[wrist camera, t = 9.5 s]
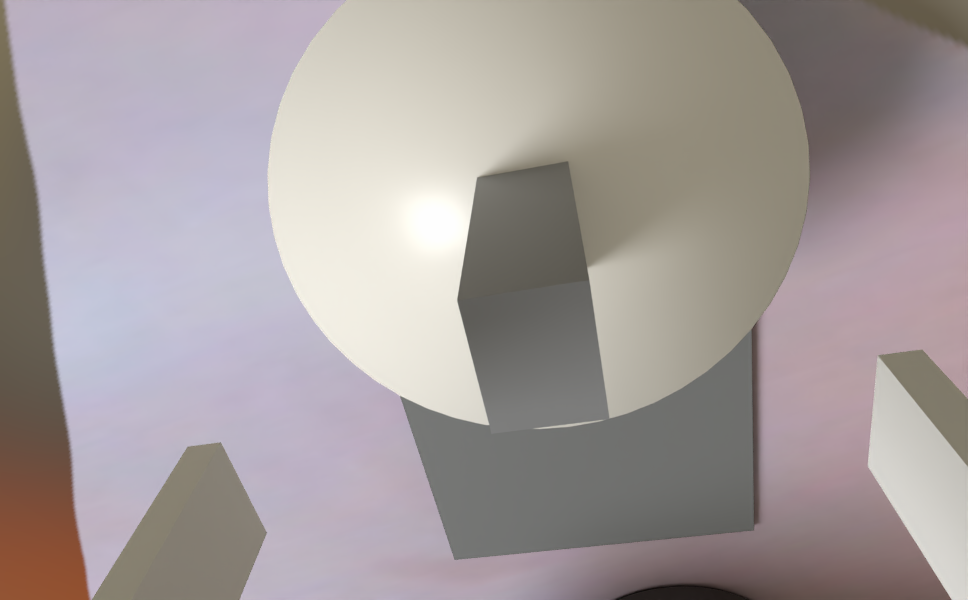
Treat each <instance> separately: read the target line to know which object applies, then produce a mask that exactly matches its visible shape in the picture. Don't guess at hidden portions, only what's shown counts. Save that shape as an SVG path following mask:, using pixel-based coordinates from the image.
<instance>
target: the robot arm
mask: <svg viewBox="0 0 968 600" xmlns="http://www.w3.org/2000/svg"><path fill="white" fill-rule="evenodd" d="M868 467H869V469H870V470H871V472H872V474H873V475H874V477H875V478H876V480H877V482H878V483H879V485H880V486H881V488H882V490H883V491H884V493H885V494H886V496H887V497H888V499H889V501H890V502H891V504H892V505H893V507H894V509H895V510H896V512H897V513H898V515H899V517H900V518H901V520H902V521H903V523H904V525H905V526H906V528H907V529H908V531H909V532H910V534H911V536H912V537H913V539H914V540H915V542H916V544H917V545H918V547H919V548H920V550H921V552H922V553H923V555H924V556H925V558H926V560H927V561H928V563H929V564H930V566H931V567H932V569H933V571H934V572H935V574H936V575H937V577H938V579H939V580H940V582H941V583H942V585H943V587H944V588H945V590H946V591H947V593H948V595H949V596H950V598H951V599H952V600H968V399H967V398H966V397H965V396H964V394H963V393H962V392H961V391H960V390H959V389H958V388H957V387H956V386H955V385H954V384H953V383H952V381H951V380H950V379H949V378H948V377H947V376H946V375H945V374H944V373H943V372H942V371H941V370H940V368H939V367H938V366H937V365H936V364H935V363H934V362H933V361H932V360H931V359H930V358H929V357H928V355H927V354H926V353H925V352H924V351H923V350H915V351H908V352H900V353H893V354H885V355H878V359H877V370H876V381H875V392H874V403H873V414H872V425H871V436H870V447H869V458H868ZM265 536H266V531H265V529H264V527H263V525H262V523H261V521H260V519H259V517H258V515H257V513H256V511H255V509H254V507H253V505H252V503H251V501H250V499H249V497H248V495H247V493H246V491H245V489H244V487H243V485H242V483H241V481H240V479H239V477H238V475H237V473H236V471H235V469H234V467H233V465H232V463H231V462H230V460H229V458H228V456H227V454H226V452H225V450H224V448H223V446H222V444H221V443H213V444H206V445H198V446H190V447H187V449H186V450H185V452H184V453H183V455H182V457H181V458H180V460H179V461H178V463H177V465H176V466H175V468H174V469H173V471H172V473H171V474H170V476H169V477H168V479H167V481H166V482H165V484H164V485H163V487H162V489H161V490H160V492H159V493H158V495H157V497H156V498H155V500H154V501H153V503H152V505H151V506H150V508H149V509H148V511H147V513H146V514H145V516H144V517H143V519H142V521H141V522H140V524H139V525H138V527H137V529H136V530H135V532H134V533H133V535H132V536H131V538H130V540H129V541H128V543H127V544H126V546H125V548H124V549H123V551H122V552H121V554H120V556H119V557H118V559H117V560H116V562H115V564H114V565H113V567H112V568H111V570H110V572H109V573H108V575H107V576H106V578H105V580H104V581H103V583H102V584H101V586H100V588H99V589H98V591H97V592H96V594H95V596H94V597H93V599H92V600H239V599H240V597H241V594H242V592H243V589H244V587H245V585H246V582H247V580H248V577H249V575H250V572H251V570H252V568H253V565H254V563H255V560H256V558H257V555H258V553H259V550H260V548H261V546H262V543H263V541H264V538H265ZM618 600H748V599H745V598H743V597H741V596H738V595H735V594H732V593H729V592H725V591H721V590H716V589H710V588H702V587H667V588H658V589H652V590H647V591H643V592H639V593H635V594H632V595H629V596H626V597H623V598H621V599H618Z"/></svg>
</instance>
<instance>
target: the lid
mask: <svg viewBox="0 0 968 600" xmlns="http://www.w3.org/2000/svg"><path fill="white" fill-rule="evenodd" d="M809 182H810V168H809V144H808V138H807V133H806V128H805V123H804V118H803V112H802V108H801V105H800V102H799V99H798V97H797V94H796V91H795V88H794V85H793V83H792V80H791V77H790V74H789V72H788V70H787V69H786V67H785V65H784V63H783V61H782V59H781V58H780V56H779V54H778V52H777V50H776V48H775V46H774V45H773V43H772V41H771V40H770V38H769V37H768V36H767V34H766V33H765V32H764V30H763V29H762V28H761V27H760V25H759V24H758V23H757V21H756V20H755V19H754V17H753V16H752V15H751V14H750V12H749V11H748V10H747V9H746V8H745V7H744V6H743V5H742V4H741V3H740V2H739V1H738V0H347V1H346V2H345V3H343V4H342V5H341V6H340V7H339V8H338V9H337V10H336V11H335V12H334V14H333V15H332V16H331V17H330V18H329V20H328V21H327V22H326V23H325V25H324V26H323V27H322V28H321V30H320V31H319V32H318V33H317V35H316V36H315V37H314V38H313V39H312V41H311V43H310V44H309V46H308V48H307V49H306V51H305V53H304V54H303V56H302V58H301V60H300V61H299V63H298V65H297V66H296V68H295V70H294V71H293V73H292V76H291V78H290V81H289V83H288V86H287V88H286V91H285V93H284V95H283V98H282V100H281V103H280V105H279V109H278V113H277V117H276V121H275V125H274V129H273V133H272V137H271V144H270V154H269V164H268V197H269V209H270V215H271V221H272V226H273V232H274V237H275V240H276V244H277V247H278V250H279V253H280V256H281V259H282V262H283V266H284V268H285V270H286V272H287V274H288V277H289V279H290V281H291V283H292V285H293V287H294V289H295V292H296V294H297V295H298V297H299V299H300V300H301V302H302V303H303V305H304V307H305V308H306V310H307V311H308V313H309V314H310V316H311V318H312V319H313V321H314V322H315V323H316V324H317V325H318V327H319V328H320V329H321V330H322V332H323V333H324V334H325V335H326V336H327V338H328V339H329V340H330V341H331V343H332V344H333V345H334V346H335V347H336V348H338V349H339V350H340V351H341V352H342V353H343V354H344V355H345V356H346V357H347V358H348V359H349V360H350V361H351V362H352V363H353V364H354V365H356V366H357V367H358V368H360V369H361V370H362V371H363V372H365V373H366V374H367V375H369V376H370V377H371V378H373V379H374V380H375V381H377V382H378V383H380V384H382V385H383V386H385V387H387V388H388V389H390V390H391V391H393V392H395V393H396V394H398V395H400V396H402V397H404V398H406V399H408V400H410V401H412V402H414V403H416V404H419V405H421V406H423V407H425V408H427V409H430V410H433V411H436V412H439V413H442V414H445V415H447V416H450V417H453V418H457V419H461V420H466V421H470V422H474V423H478V424H483V425H489V426H490V430H491V434H494V433H502V432H510V431H518V430H526V429H546V428H560V427H571V426H577V425H583V424H588V423H594V422H599V421H603V420H606V419H610V418H613V417H617V416H620V415H624V414H627V413H630V412H632V411H635V410H637V409H640V408H642V407H645V406H647V405H650V404H652V403H655V402H657V401H659V400H661V399H663V398H664V397H666V396H668V395H670V394H672V393H674V392H676V391H678V390H680V389H682V388H683V387H684V386H686V385H687V384H689V383H690V382H692V381H693V380H695V379H696V378H698V377H699V376H701V375H702V374H704V373H705V372H707V371H708V370H709V369H710V368H712V367H713V366H714V365H715V364H716V363H717V362H719V361H720V360H721V359H722V358H723V357H725V356H726V355H727V354H728V353H729V352H730V351H731V350H732V349H733V348H734V347H735V346H736V345H737V344H738V343H739V342H740V341H741V340H742V339H743V337H744V336H745V335H746V334H747V333H748V332H749V331H750V330H751V329H752V328H753V326H754V325H755V324H756V322H757V321H758V319H759V318H760V317H761V315H762V314H763V313H764V311H765V310H766V309H767V307H768V306H769V305H770V303H771V301H772V300H773V298H774V296H775V294H776V292H777V291H778V289H779V287H780V285H781V283H782V282H783V280H784V278H785V276H786V274H787V272H788V269H789V267H790V264H791V262H792V259H793V257H794V254H795V252H796V249H797V247H798V244H799V240H800V236H801V232H802V228H803V224H804V220H805V216H806V211H807V201H808V192H809Z"/></svg>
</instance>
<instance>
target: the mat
mask: <svg viewBox="0 0 968 600" xmlns="http://www.w3.org/2000/svg"><path fill="white" fill-rule="evenodd" d="M400 397H401V400H402V403H403V406H404V409H405V412H406V415H407V418H408V421H409V424H410V427H411V430H412V433H413V436H414V439H415V442H416V445H417V448H418V451H419V454H420V457H421V460H422V463H423V466H424V469H425V472H426V475H427V478H428V481H429V484H430V487H431V490H432V493H433V496H434V499H435V502H436V505H437V508H438V511H439V514H440V517H441V520H442V523H443V526H444V529H445V532H446V535H447V538H448V541H449V544H450V547H451V550H452V553H453V556H454V559H455V560H458V559H468V558H478V557H488V556H499V555H509V554H519V553H529V552H539V551H549V550H559V549H569V548H580V547H590V546H600V545H610V544H620V543H630V542H640V541H651V540H661V539H671V538H681V537H691V536H701V535H711V534H722V533H732V532H742V531H752V530H754V491H753V408H752V329H751V330H750V331H749V332H748V333H747V334H746V335H745V336H744V337H743V339H742V340H741V341H740V342H739V343H738V344H737V345H736V346H735V347H734V348H733V349H732V350H731V351H730V352H729V353H728V354H727V355H726V356H725V357H723V358H722V359H721V360H720V361H719V362H717V363H716V364H715V365H714V366H713V367H712V368H710V369H709V370H708V371H707V372H705V373H704V374H702V375H701V376H699V377H698V378H696V379H695V380H693V381H692V382H690V383H689V384H687V385H686V386H684V387H683V388H682V389H680V390H678V391H676V392H674V393H672V394H670V395H668V396H666V397H664V398H663V399H661V400H659V401H657V402H655V403H652V404H650V405H647V406H645V407H642V408H640V409H637V410H635V411H632V412H630V413H627V414H624V415H620V416H617V417H613V418H610V419H606V420H603V421H599V422H594V423H588V424H583V425H577V426H571V427H560V428H546V429H526V430H518V431H510V432H502V433H494V434H491V430H490V426H489V425H483V424H478V423H474V422H470V421H466V420H461V419H457V418H453V417H450V416H447V415H445V414H442V413H439V412H436V411H433V410H430V409H427V408H425V407H423V406H421V405H419V404H416V403H414V402H412V401H410V400H408V399H406V398H404V397H402V396H400Z"/></svg>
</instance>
